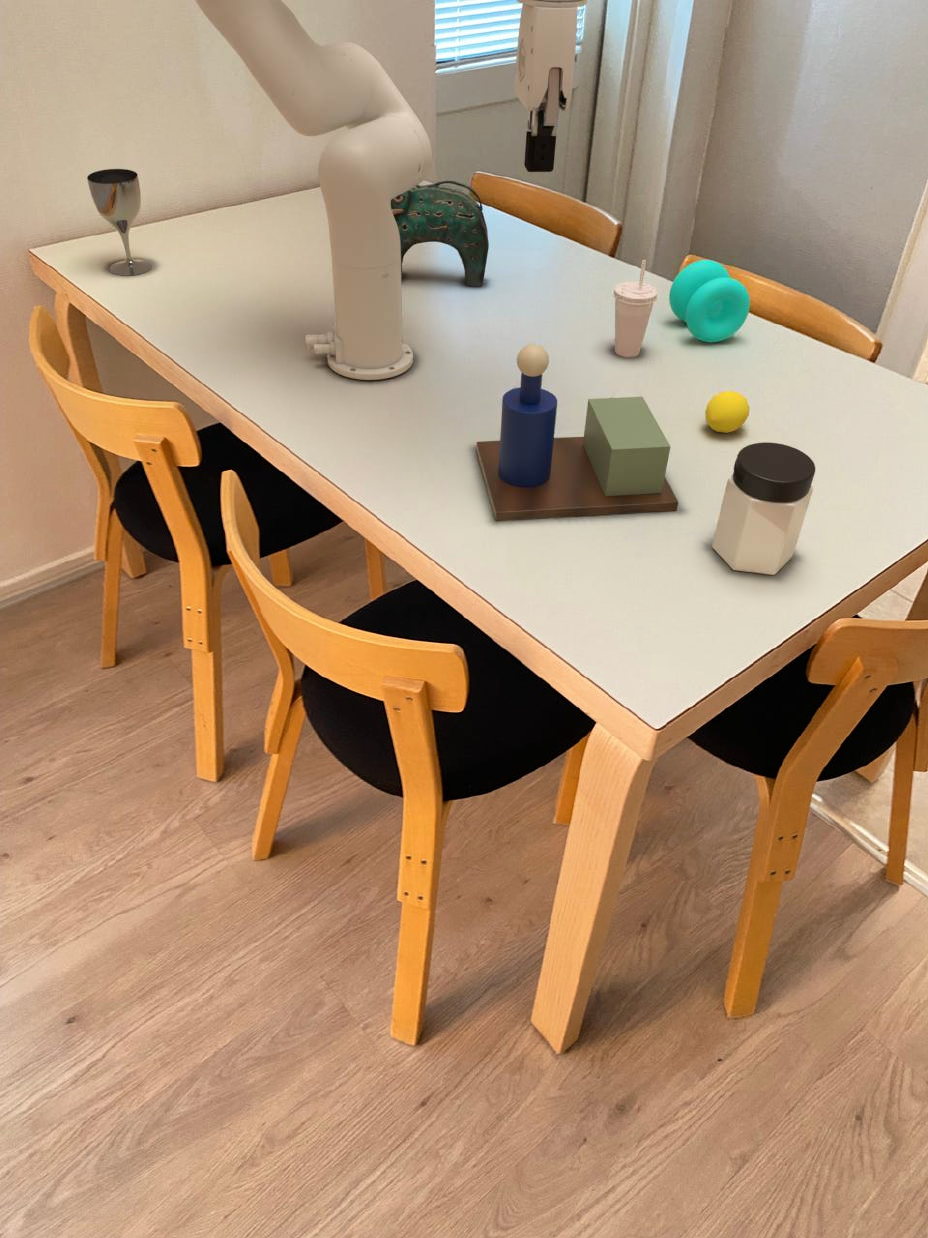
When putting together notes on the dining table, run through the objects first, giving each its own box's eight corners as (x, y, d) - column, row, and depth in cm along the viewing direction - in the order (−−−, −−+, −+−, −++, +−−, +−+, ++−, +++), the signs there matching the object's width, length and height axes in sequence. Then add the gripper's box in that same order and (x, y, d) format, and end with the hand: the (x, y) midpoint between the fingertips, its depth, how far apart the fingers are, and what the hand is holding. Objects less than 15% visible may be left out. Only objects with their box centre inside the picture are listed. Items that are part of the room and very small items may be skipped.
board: (495, 520, 114) (496, 512, 113) (476, 449, 126) (476, 441, 125) (677, 510, 116) (678, 502, 115) (641, 441, 128) (642, 433, 127)
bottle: (522, 509, 119) (444, 428, 110) (514, 480, 124) (438, 401, 115) (615, 441, 114) (541, 352, 106) (603, 414, 119) (531, 326, 110)
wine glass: (164, 265, 169) (148, 174, 159) (129, 279, 164) (110, 186, 154) (132, 255, 172) (114, 165, 162) (97, 269, 167) (76, 177, 157)
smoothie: (646, 363, 145) (661, 270, 136) (604, 358, 146) (615, 266, 137) (649, 344, 150) (663, 254, 141) (607, 340, 151) (619, 249, 142)
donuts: (685, 347, 150) (696, 284, 143) (661, 320, 157) (672, 258, 150) (745, 343, 151) (759, 280, 145) (719, 316, 159) (732, 255, 152)
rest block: (605, 496, 116) (611, 449, 112) (582, 444, 125) (588, 398, 121) (661, 493, 117) (670, 446, 112) (635, 441, 126) (642, 396, 121)
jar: (737, 521, 115) (760, 431, 107) (802, 549, 111) (830, 458, 103) (699, 555, 109) (720, 464, 102) (765, 586, 106) (793, 493, 98)
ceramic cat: (369, 282, 166) (364, 157, 152) (376, 268, 170) (372, 145, 157) (485, 291, 164) (490, 165, 151) (488, 276, 169) (494, 153, 156)
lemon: (725, 446, 128) (733, 409, 124) (691, 430, 131) (698, 394, 127) (754, 428, 131) (764, 392, 128) (721, 413, 134) (729, 377, 131)
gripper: (506, -27, 107) (497, 150, 119) (530, -3, 96) (517, 190, 108) (572, -26, 108) (557, 150, 120) (604, -2, 97) (583, 190, 109)
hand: (538, 169), depth 114 cm, fingers closed
